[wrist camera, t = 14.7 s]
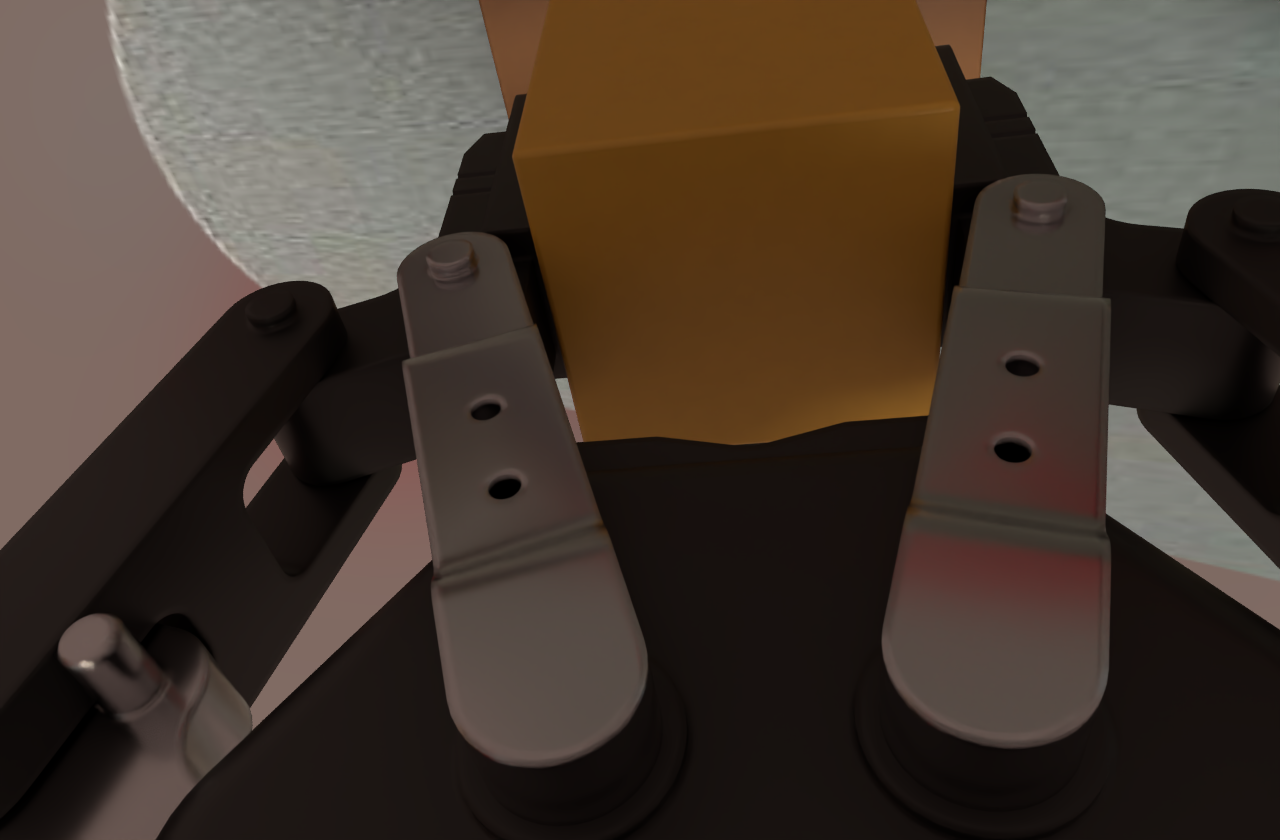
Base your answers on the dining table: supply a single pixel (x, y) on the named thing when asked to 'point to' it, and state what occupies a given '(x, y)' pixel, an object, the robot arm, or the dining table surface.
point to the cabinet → (522, 3)
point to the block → (740, 212)
